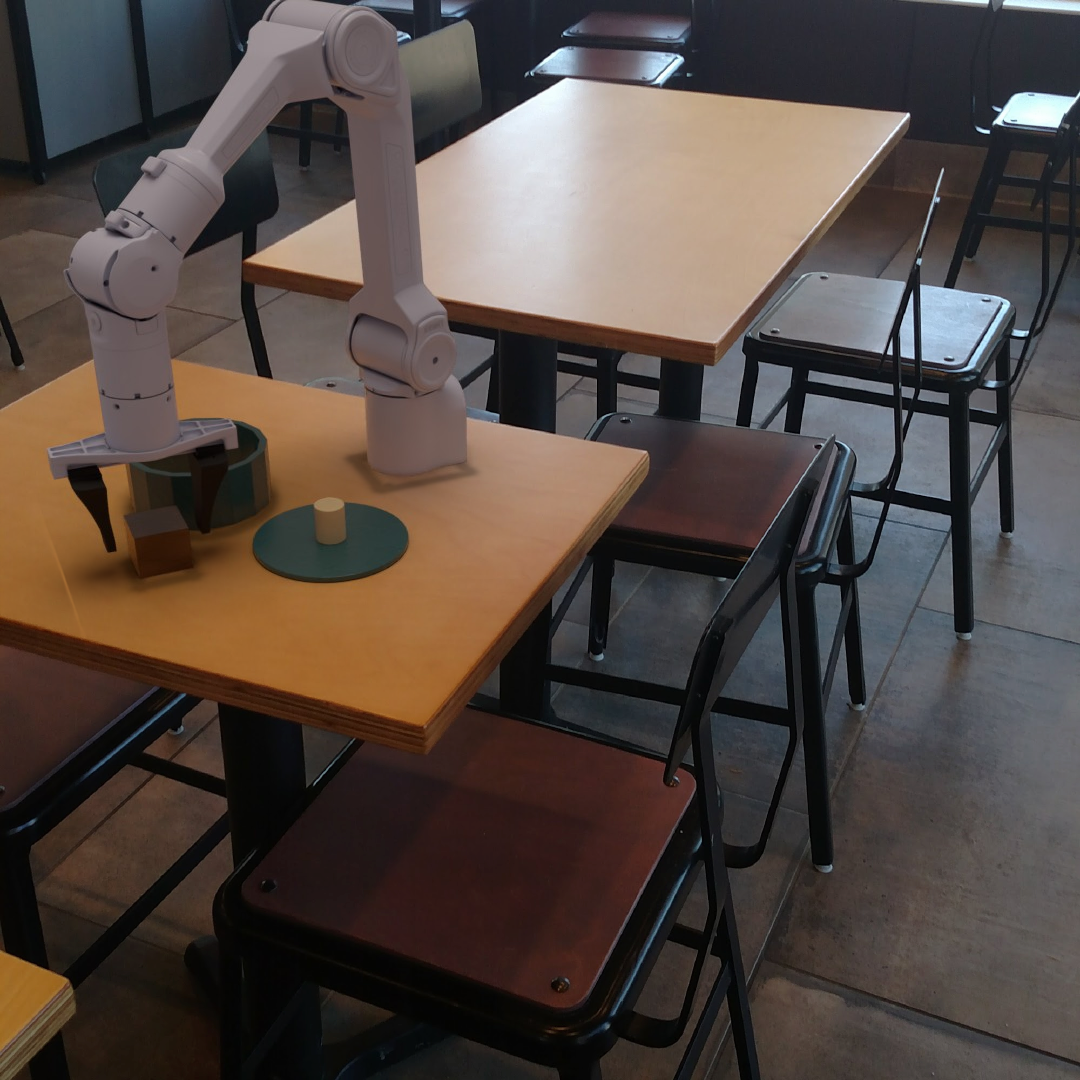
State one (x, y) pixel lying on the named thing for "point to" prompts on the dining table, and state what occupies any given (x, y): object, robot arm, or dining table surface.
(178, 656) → the dining table surface
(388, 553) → the cover
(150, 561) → the block
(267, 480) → the container
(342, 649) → the dining table surface
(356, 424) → the dining table surface
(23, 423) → the dining table surface
